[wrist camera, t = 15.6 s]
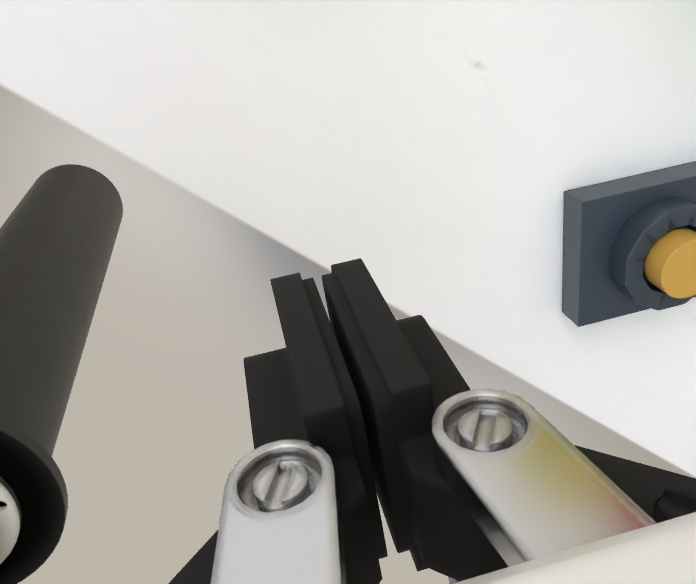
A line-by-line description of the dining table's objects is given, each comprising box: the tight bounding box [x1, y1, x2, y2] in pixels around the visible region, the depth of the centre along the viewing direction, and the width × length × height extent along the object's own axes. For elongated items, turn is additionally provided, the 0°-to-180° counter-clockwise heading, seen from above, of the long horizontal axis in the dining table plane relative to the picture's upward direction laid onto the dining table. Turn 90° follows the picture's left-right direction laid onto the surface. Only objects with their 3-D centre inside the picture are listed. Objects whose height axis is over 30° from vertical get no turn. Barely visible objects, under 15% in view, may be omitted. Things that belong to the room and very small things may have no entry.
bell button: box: [644, 228, 696, 298], centre depth 39 cm, size 4×4×2 cm
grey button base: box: [562, 162, 696, 327], centre depth 41 cm, size 11×9×4 cm
